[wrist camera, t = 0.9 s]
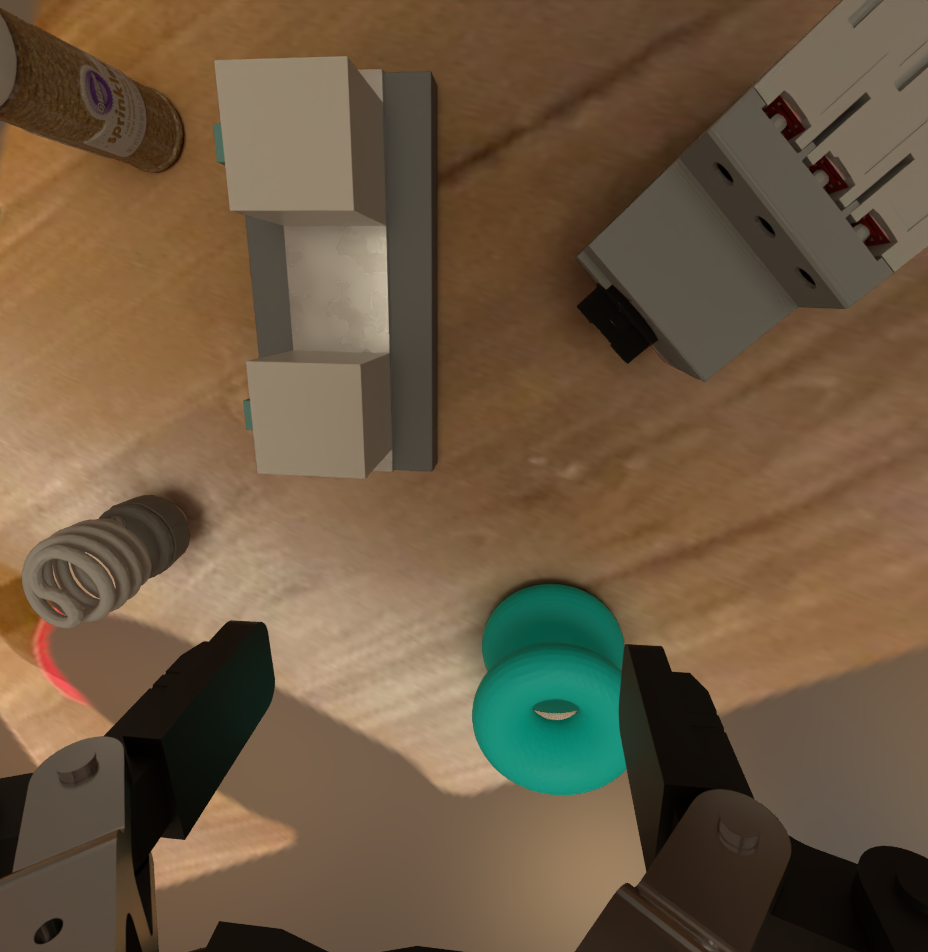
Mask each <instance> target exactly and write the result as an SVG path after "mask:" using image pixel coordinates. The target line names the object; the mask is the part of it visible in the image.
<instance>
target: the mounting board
mask: <svg viewBox="0 0 928 952" xmlns="http://www.w3.org/2000/svg"><path fill="white" fill-rule="evenodd" d="M384 80H385V120H386V159H387V199H388V238H389V277H390V317H391V356H392V395H393V435H394V470H410V471H431V472H432V471H433V470H434V468H435V466H436V464H437V84H436V82H435V79H434V77H433V75H432V73H431V71H427V72H391V73H384ZM245 218H246V228H247V238H248V249H249V259H250V269H251V279H252V290H253V300H254V310H255V321H256V331H257V341H258V351H259V358H262V357H267V356H271V355H276V354H280V353H284V352H289V351H293V339H292V326H291V313H290V300H289V288H288V275H287V262H286V249H285V237H284V226H282V225H279V224H275V223H272V222H268V221H265V220H261V219H258V218H254V217H251V216H247V215H245Z"/></svg>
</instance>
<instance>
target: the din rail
mask: <svg viewBox="0 0 928 952" xmlns="http://www.w3.org/2000/svg"><path fill="white" fill-rule="evenodd" d="M358 71H359V72H360V73H361V75H362V76H363V77H364V79H365V80H366V81H367V83H368V84H369V85H370V86H371V88H372V89H373V90H374V92H375V93H376V94H377V96H378V97H379V98H380V99H381V101H382V102H383V130H384V167H385V205H386V226H284V237H285V249H286V262H287V275H288V288H289V300H290V313H291V326H292V339H293V350H295V351H333V352H372V353H389V356H390V394H391V432H392V450H391V451H390V452H389V453H388V454H387V455H386V457H385V458H384V459H383V460H382V461H381V462H380V463H379V464H378V465H377V466H376V467H375V469H374V470H373V471H382V472H393V471H394V435H393V395H392V356H391V317H390V277H389V238H388V199H387V159H386V120H385V80H384V71H383V70H382V69H366V70H358Z"/></svg>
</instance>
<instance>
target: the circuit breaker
mask: <svg viewBox="0 0 928 952" xmlns="http://www.w3.org/2000/svg"><path fill="white" fill-rule="evenodd" d="M927 246H928V0H842V1H841V2H839V3H838V4H837V5H836V6H835V7H834V8H833V9H832V10H831V11H830V12H829V13H828V14H827V15H826V16H825V17H824V18H823V19H822V20H821V21H820V22H819V23H817V24H816V25H815V26H814V27H813V28H812V29H811V30H810V31H809V32H808V33H807V34H806V35H805V36H804V37H803V38H802V39H801V40H800V41H799V42H798V43H797V44H795V45H794V46H793V47H792V48H791V49H790V50H789V51H788V52H787V53H786V54H785V55H784V56H783V57H782V58H781V59H780V60H778V61H777V62H776V63H775V64H774V65H773V66H772V67H771V68H770V69H769V70H768V71H767V72H766V73H765V74H764V75H763V76H762V77H761V78H760V79H759V80H758V81H757V82H755V83H754V84H753V85H752V86H751V87H750V88H749V89H748V90H747V91H746V92H745V93H744V94H743V95H742V96H741V97H740V98H739V99H738V100H737V101H736V102H735V103H734V104H733V105H732V106H731V107H730V108H729V109H728V110H727V111H726V112H724V113H723V114H722V115H721V116H720V117H719V118H718V119H717V120H716V121H715V122H714V123H713V124H712V125H711V126H710V127H709V128H708V129H707V130H706V131H705V132H704V133H703V134H702V135H701V136H700V137H699V138H698V139H697V140H696V141H695V142H694V143H692V144H691V145H690V146H689V147H688V148H687V149H686V150H685V151H684V152H683V153H682V154H681V155H680V156H679V157H678V158H677V159H676V160H675V161H674V162H673V163H672V164H671V165H670V166H669V167H668V168H667V169H666V170H665V171H664V172H663V173H662V174H661V175H659V176H658V177H657V178H656V179H655V180H654V181H653V182H652V183H651V184H650V185H649V186H648V187H647V188H646V189H645V190H644V191H643V192H642V193H641V194H640V195H639V196H638V197H637V198H636V199H635V200H634V201H633V202H632V203H631V204H630V205H629V206H628V207H627V208H626V209H625V210H624V211H623V212H622V213H621V214H620V215H619V216H618V217H617V218H615V219H614V220H613V221H612V222H611V223H610V224H609V225H608V226H607V227H606V228H605V229H604V230H603V231H602V232H601V233H600V234H599V235H598V236H597V237H596V238H595V239H594V240H593V241H592V242H591V243H590V244H589V245H588V246H587V247H586V248H585V249H583V250H582V251H581V252H580V253H579V254H578V255H577V256H576V257H575V259H576V260H577V261H578V262H579V263H580V264H581V266H582V267H583V268H584V269H585V270H586V271H587V273H588V274H589V275H590V276H591V277H592V278H593V279H594V281H595V282H596V283H597V284H596V285H597V288H596V289H595V290H594V291H593V292H592V293H591V294H589V295H588V296H587V297H586V298H585V299H584V300H583V301H582V302H581V303H580V304H578V305H577V308H578V309H579V310H580V311H581V312H582V314H583V315H584V316H585V317H586V318H587V319H588V320H589V322H590V323H594V325H595V326H596V327H597V328H598V329H599V330H600V331H601V333H602V334H603V335H604V336H605V337H606V338H607V339H608V341H609V342H610V343H611V345H610V346H611V347H612V348H613V349H614V350H615V351H616V352H617V354H618V355H619V356H620V357H621V358H622V359H623V360H624V362H626V363H627V364H628V363H629V362H631V361H632V360H633V359H634V358H635V357H637V356H638V355H639V354H640V353H641V352H643V351H644V350H645V349H646V348H647V347H648V346H651V347H652V348H653V349H654V350H655V351H656V353H657V354H658V355H659V356H660V357H661V358H662V360H663V361H664V362H665V363H667V364H669V365H671V366H673V367H675V368H677V369H679V370H681V371H683V372H685V373H687V374H689V375H691V376H692V377H694V378H696V379H698V380H700V379H701V380H702V381H703V382H705V381H707V380H708V379H709V378H711V377H712V376H713V375H714V374H715V373H717V372H718V371H719V370H720V369H722V368H723V367H724V366H725V365H727V364H728V363H729V362H730V361H732V360H733V359H734V358H735V357H736V356H738V355H739V354H740V353H741V352H743V351H744V350H745V349H746V348H748V347H749V346H750V345H751V344H752V343H754V342H755V341H756V340H757V339H759V338H760V337H761V336H762V335H764V334H765V333H766V332H767V331H769V330H770V329H771V328H772V327H773V326H775V325H776V324H777V323H778V322H780V321H781V320H782V319H783V318H785V317H786V316H787V315H788V314H789V313H791V312H792V311H793V310H794V309H796V308H798V307H807V308H833V309H847V308H849V307H851V306H852V305H853V304H854V303H856V302H857V301H858V300H860V299H861V298H862V297H863V296H865V295H866V294H867V293H868V292H870V291H871V290H872V289H874V288H875V287H876V286H877V285H879V284H880V283H881V282H882V281H884V280H885V279H886V278H888V277H889V276H890V275H891V274H893V272H895V271H896V270H898V269H899V268H900V267H902V266H903V265H904V264H905V263H907V262H908V261H909V260H910V259H912V258H913V257H914V256H915V255H917V254H918V253H919V252H921V251H922V250H923V249H924V248H926V247H927Z"/></svg>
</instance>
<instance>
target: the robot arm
mask: <svg viewBox="0 0 928 952" xmlns="http://www.w3.org/2000/svg"><path fill="white" fill-rule="evenodd" d="M274 688H275V677H274V670H273V663H272V656H271V649H270V643H269V636H268V630H267V627H266V625H265V624H264V623H263V622H249V621H232V620H231V621H228V622H227V623H226V624H225V625H224V626H223V627H222V628H221V629H220V630H219V631H218V632H217V633H216V634H215V636H214V637H213V638H212V639H211V640H210V641H209V642H205V641H204V642H202V643H200V644H199V645H197V646H195V647H194V648H192V649H191V650H189V651H187V652H186V653H184V654H183V655H181V656H180V657H179V658H178V659H177V660H176V661H175V662H174V663H173V664H172V666H171V667H170V668H169V669H168V670H167V671H166V674H165V675H162V676H161V677H160V678H159V679H158V680H157V681H156V682H155V683H154V684H153V688H152V689H149V690H148V691H147V692H146V693H145V694H144V695H143V696H142V697H141V698H140V699H139V700H138V701H137V702H136V703H135V704H134V705H133V706H132V707H131V708H130V709H129V710H128V711H127V713H125V715H124V716H123V717H122V718H121V719H120V720H119V721H118V722H117V723H116V724H115V725H114V726H113V727H112V728H111V729H110V730H109V731H108V732H107V733H106V734H105V735H104V736H101V737H93V738H88V739H84V740H81V741H78V742H75V743H73V744H71V745H68V746H66V747H64V748H63V749H61V750H59V751H57V752H56V753H54V754H53V755H52V756H50V757H49V758H48V759H46V760H45V761H44V762H43V763H42V764H41V765H40V766H39V767H38V768H37V769H36V771H35V772H34V773H29V774H23V775H18V776H12V777H6V778H1V779H0V952H159V945H158V929H157V911H156V894H155V878H154V862H153V857H152V853H151V850H152V849H153V848H154V846H155V845H156V843H157V842H158V840H159V839H160V837H163V838H172V839H182V840H185V839H186V837H187V836H188V834H189V833H190V831H191V829H192V828H193V826H194V825H195V823H196V822H197V820H198V818H199V817H200V815H201V814H202V812H203V810H204V809H205V807H206V806H207V804H208V803H209V801H210V799H211V798H212V796H213V795H214V793H215V791H216V790H217V788H218V787H219V785H220V784H221V782H222V780H223V779H224V777H225V776H226V774H227V773H228V771H229V769H230V768H231V766H232V765H233V763H234V761H235V760H236V758H237V757H238V755H239V753H240V752H241V750H242V749H243V747H244V746H245V744H246V742H247V741H248V739H249V738H250V736H251V735H252V733H253V731H254V730H255V728H256V726H257V725H258V723H259V722H260V720H261V718H262V717H263V716H264V714H265V712H266V711H267V709H268V707H269V706H270V703H271V701H272V698H273V693H274ZM619 729H620V737H621V742H622V747H623V752H624V758H625V763H626V768H627V773H628V778H629V784H630V789H631V794H632V799H633V804H634V809H635V815H636V820H637V825H638V830H639V836H640V841H641V846H642V851H643V856H644V862H645V866H646V874H645V875H644V877H643V878H642V880H641V881H640V882H639V884H638V885H637V886H636V887H633V886H632V885H630V884H629V883H625V884H624V885H622V886H621V887H620V888H619V889H618V890H617V891H616V893H615V894H614V895H613V897H612V898H611V900H610V901H609V903H608V904H607V905H606V907H605V908H604V910H603V911H602V913H601V914H600V916H599V917H598V919H597V920H596V922H595V923H594V925H593V926H592V927H591V929H590V930H589V932H588V933H587V935H586V936H585V938H584V939H583V940H582V942H581V943H580V945H579V946H578V948H577V950H576V951H575V952H928V859H927V858H925V857H923V856H921V855H919V854H917V853H914V852H912V851H909V850H906V849H902V848H898V847H892V846H878V847H873V848H870V849H868V850H867V851H865V852H864V853H863V854H862V856H861V857H860V860H859V863H858V864H856V863H853V862H850V861H848V860H845V859H842V858H839V857H837V856H834V855H831V854H828V853H826V852H823V851H820V850H817V849H815V848H812V847H809V846H807V845H805V844H803V843H801V842H799V841H797V840H795V839H794V838H792V837H791V836H789V835H788V833H787V831H786V829H785V828H784V826H783V824H782V823H781V822H780V821H779V819H778V818H777V817H776V816H775V815H774V814H773V813H772V812H771V811H770V810H769V809H768V808H766V807H765V806H764V805H763V804H761V803H759V802H758V801H756V800H755V799H754V797H753V795H752V792H751V790H750V788H749V785H748V783H747V781H746V778H745V776H744V774H743V772H742V769H741V767H740V765H739V762H738V760H737V758H736V755H735V753H734V751H733V748H732V746H731V744H730V741H729V739H728V737H727V734H726V733H725V732H724V727H723V725H722V723H721V720H720V718H719V716H718V715H717V711H716V709H715V706H714V704H713V702H712V699H711V697H710V695H709V692H708V691H707V690H706V689H705V688H704V687H703V686H702V685H701V684H700V683H699V682H698V681H697V680H696V679H695V678H694V677H693V676H692V675H691V674H690V673H683V672H672V671H671V668H670V665H669V663H668V660H667V657H666V654H665V651H664V649H663V647H662V646H648V645H631V644H626V645H625V647H624V652H623V663H622V674H621V685H620V696H619ZM190 952H328V951H326V950H324V949H321V948H319V947H317V946H315V945H313V944H311V943H309V942H307V941H305V940H303V939H301V938H299V937H297V936H295V935H293V934H291V933H288V932H287V931H285V930H283V929H277V928H269V927H261V926H253V925H245V924H236V923H229V922H221V921H219V923H218V925H217V927H216V929H215V931H214V933H213V935H212V937H211V939H210V941H209V943H208V945H207V947H205V948H200V949H196V950H193V951H190ZM384 952H461V951H453V950H445V949H437V948H429V947H421V946H414V947H408V948H402V949H396V950H390V951H384Z"/></svg>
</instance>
